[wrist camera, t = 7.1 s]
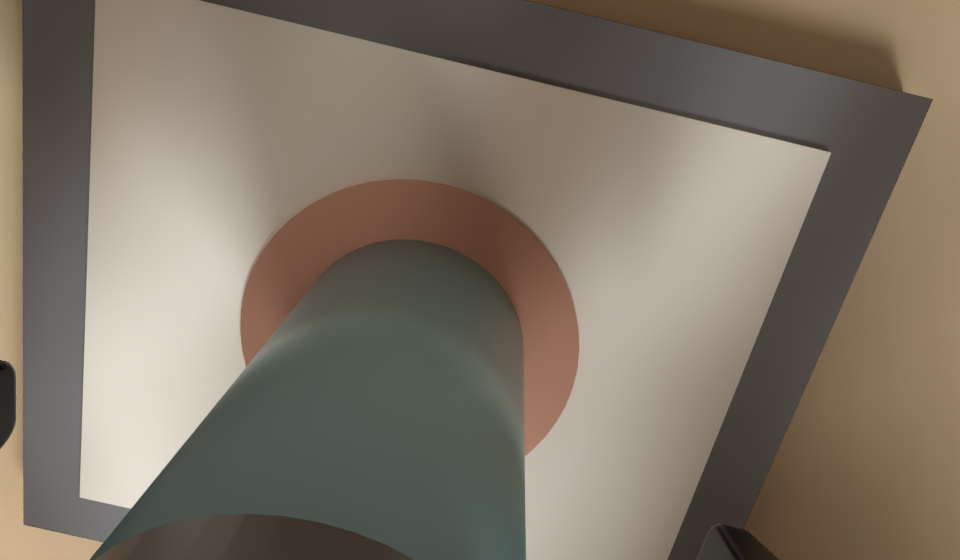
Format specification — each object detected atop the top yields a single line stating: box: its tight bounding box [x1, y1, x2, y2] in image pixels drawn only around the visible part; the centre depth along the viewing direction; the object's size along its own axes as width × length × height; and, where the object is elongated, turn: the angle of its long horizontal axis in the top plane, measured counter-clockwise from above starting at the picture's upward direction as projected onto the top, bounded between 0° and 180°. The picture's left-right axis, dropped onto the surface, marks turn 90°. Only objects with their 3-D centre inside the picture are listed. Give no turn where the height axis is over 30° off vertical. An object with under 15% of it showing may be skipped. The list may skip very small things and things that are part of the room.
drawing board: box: [23, 0, 933, 560], centre depth 13 cm, size 14×12×1 cm
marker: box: [90, 239, 526, 560], centre depth 8 cm, size 4×4×9 cm
